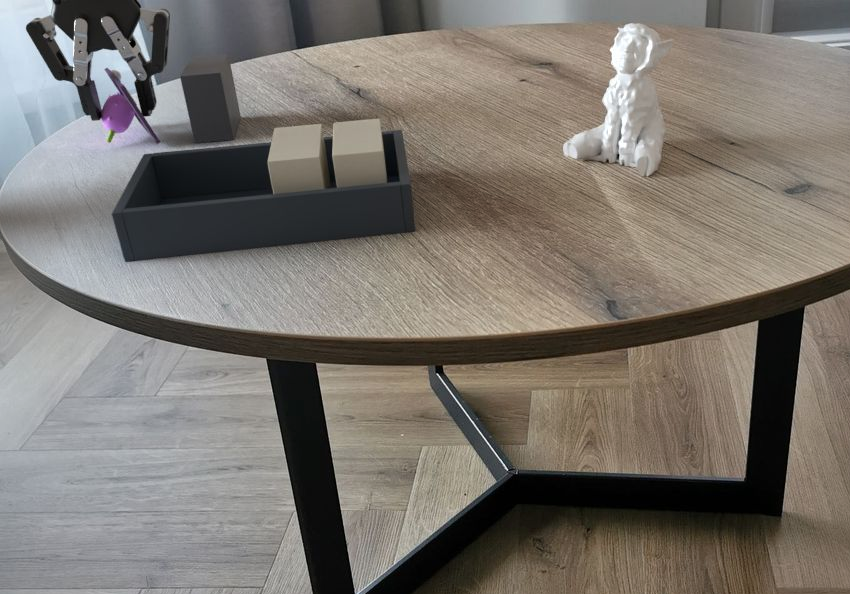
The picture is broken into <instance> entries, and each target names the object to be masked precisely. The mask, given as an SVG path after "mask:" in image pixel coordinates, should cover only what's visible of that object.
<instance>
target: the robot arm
mask: <svg viewBox="0 0 850 594" xmlns="http://www.w3.org/2000/svg"><path fill="white" fill-rule="evenodd" d="M51 2H52V7H51V11H50V14H49V15H46V16H44V17H35V18H33V19H32V20H31V21H29V22H28V23H27V24H26V26H25V30H26V33H27V34H28V36H29V38H30V40H31V41H32V42H33V44H34V46H35V48H36V49H37V51H38V53H39V54H40V56H41V58H42V60H43V62H44V63H45V65H46V67H47V68H48V70H49V72H50V73H51V75H52V76H53V78H54V79H55V80H56V81H59V82H61V81H63V82H64V81H65V82H69V83H72V84H73V85H74V86H75V88H76V90H77V94H78V98H79V101H80V104H81V109H82V112H83V113H84V114H85V116H86V117H87V116H89V117H90V119H91V121H93V122H94V121H101V120H102V119H101V112H102V108H103V107H102V104H101V101H100V97H99V93H98V89H97V85H96V82H95V79H93V80H92V78H91V76H92V67H93V66H92V65H93V58H94V53H96V52H99V51H102V50H107V51H118V53H119V55H120V56H121V58H122V60H123V61H124V62H125V63H126V64H127V65H128V67H129V69H130V70H131V72H132V74H133V75H134V77H135V80H134V89H135V92H136V97H137V100H138V105H139V109H140V112H141V113H142V115H143V116H144V118H146V117H151V116H152V114H153V111H155V109H156V107H157V102H158V101H157V95H156V92H155V88H154V83H153V80H152V77H153V76H154V75H156V74H161V73H162V72H163V71H164V69H165V68H166V66H167V65H168V55H169V40H170V25H171V14H170V13H171V12H170V11H169V10H168V9H166V8H160V9H159V10H157V9H153V8H147V7H142V5H141V3H140V2H139V0H51ZM140 20H142V21H144V23H145V28H146V30H147V31H148V32H149V33H152V42H151V58H150V60H147V59H146V56H145V55H144V54H143V51H142V48H141V46H140V44H139V42H138V40H137V39H136V37H135V35H134V32H135V30H136V28H137V26H138V24H139V21H140ZM56 27H57V28H59V30H61V31H62V32H63V33H64V34H65V35H66V37H68V38H69V39H70V40H71V41H73V52H72V53H73V54H72V62H73V66H72V65H70V63H69V62H68V59H67V58H66V57H65V55H64V53H63V51H62V49H61V48H60V46H59V44H58V43H57V40H56V39H55V38H56V36H57V31H56Z"/></svg>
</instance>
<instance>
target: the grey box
mask: <svg viewBox="0 0 850 594" xmlns="http://www.w3.org/2000/svg"><path fill="white" fill-rule="evenodd" d="M186 63H187V64H186V65H185V67H184V69H183V71H182V72H181V73H180V77H179V78H180V82H181V87H182V91H183V96H184V102H185V104H186V110H187V113H188V114H187V115H188V118H189V123H190V127H191V131H192V137H193V141H194V144H202V143H201V142H204V143H212V142H211V141H215V142H223V141H234V140H235V137H236V135H237V130H238V127H239V125H240V121H241V118H242V117H241V112H240V107H239V106H240V105H239V101H238V96H237V91H236V86H235V85H236V84H235V80H234V75H233V70H232V65H231V60H230V55H229V53H220V54H210V55H198V56H190V58H189V59H188V62H186Z"/></svg>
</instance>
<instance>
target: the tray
mask: <svg viewBox="0 0 850 594" xmlns="http://www.w3.org/2000/svg"><path fill="white" fill-rule="evenodd" d="M323 137H324V143H325V150H326V156H327V163H328V170H329V176H330V183H331V188H330V189H320V190H310V191H299V192H289V193H279V194H273V189H272V184H271V178H270V173H269V168H268V157H269V152H270V147H271V142H272V141H269V142H257V143H245V144H237V145H235V144H234V145H226V146H225V145H224V146H215V147H204V148H194V149H193V148H192V149H183V150H182V149H181V150H171V151H162V152H153V153H152V152H151V153H144V154H143V155H142V156H141V158H140V161H139V162H138V164H137V166H136V168H135V169H134V172H133V173H132V175H131V176H130V179H129V180H128V182H127V185H126V186H125V188H124V190H123V192H122V194H121V195H120V197H119V199H118V200H117V203H116V205H115V206H114V208H113V210H112V212H111V217H112V221H113V225H114V228H115V232H116V235H117V238H118V239H117V240H118V242H119V246H120V249H121V250H120V251H121V254H122V257H123V260H124V262H125V263H132V262H142V261H150V260H151V261H152V260H161V259H170V258H179V257H188V256H199V255H207V254H217V253H218V254H219V253H226V252H227V253H228V252H235V251H236V252H237V251H247V250H255V249H264V248H274V247H284V246H294V245H304V244H313V243H325V242H333V241H342V240H351V239H361V238H373V237H381V236H390V235H399V234H401V235H402V234H408V233H409V234H410V233H416V220H415V210H414V201H413V192H412V184H411V178H410V171H409V166H408V165H409V163H408V159H407V153H406V146H405V141H404V134H403V130H402V129H396V130H384V131H382V139H383V147H384V155H385V164H386V172H387V181H388V183H380V184H370V185H360V186H350V187H340V188H337V185H336V178H335V171H334V164H333V158H332V150H333V135H332V136H331V135H330V136H323Z"/></svg>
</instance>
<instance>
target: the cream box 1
mask: <svg viewBox="0 0 850 594" xmlns="http://www.w3.org/2000/svg"><path fill="white" fill-rule="evenodd" d="M324 137H325V136H324V131H323V124H322V123H313V124H303V125H301V124H300V125H293V126H282V127H281V126H280V127H274V129H273V134H272V138H271V141H270V142H271V147H270V152H269V157H268V168H269V173H270V178H271V184H272V189H273V194H279V193H289V192H299V191H310V190H320V189H330V188H331V183H330V176H329V170H328V163H327V156H326V150H325V143H324Z"/></svg>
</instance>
